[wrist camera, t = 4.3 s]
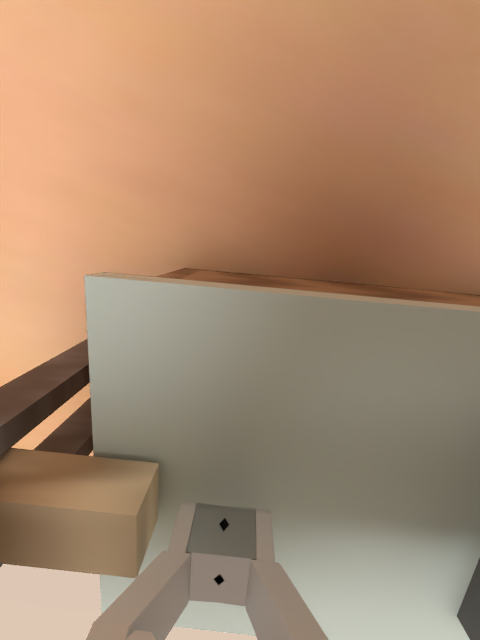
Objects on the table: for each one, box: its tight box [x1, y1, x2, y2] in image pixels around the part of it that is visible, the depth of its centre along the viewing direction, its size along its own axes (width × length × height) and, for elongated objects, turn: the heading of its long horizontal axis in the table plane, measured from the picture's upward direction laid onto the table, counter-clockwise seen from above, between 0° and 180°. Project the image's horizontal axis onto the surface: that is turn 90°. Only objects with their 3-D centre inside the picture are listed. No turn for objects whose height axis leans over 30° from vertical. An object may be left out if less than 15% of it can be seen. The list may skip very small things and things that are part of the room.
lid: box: [84, 272, 480, 640], centre depth 9 cm, size 25×15×6 cm, turn 85°
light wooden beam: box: [0, 448, 159, 578], centre depth 9 cm, size 8×2×2 cm, turn 85°
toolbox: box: [0, 268, 480, 567], centre depth 14 cm, size 29×14×15 cm, turn 85°
